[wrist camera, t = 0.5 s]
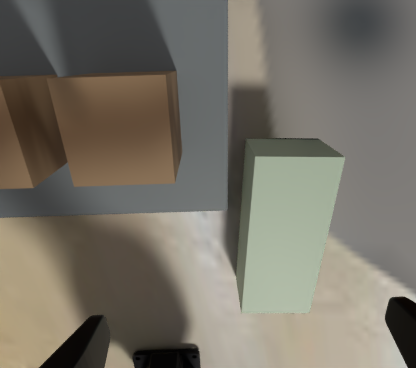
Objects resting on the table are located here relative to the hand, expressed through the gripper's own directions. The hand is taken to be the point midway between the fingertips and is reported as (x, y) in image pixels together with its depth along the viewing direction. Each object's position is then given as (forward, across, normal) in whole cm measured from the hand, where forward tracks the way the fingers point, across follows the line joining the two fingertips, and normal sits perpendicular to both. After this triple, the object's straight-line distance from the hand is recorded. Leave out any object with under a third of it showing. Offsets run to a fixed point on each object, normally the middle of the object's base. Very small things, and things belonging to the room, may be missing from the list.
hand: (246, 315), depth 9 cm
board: (+12, +8, -5) cm, 15 cm away
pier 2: (+11, +5, -5) cm, 13 cm away
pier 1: (+11, +12, -5) cm, 17 cm away
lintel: (+12, -4, +3) cm, 13 cm away
